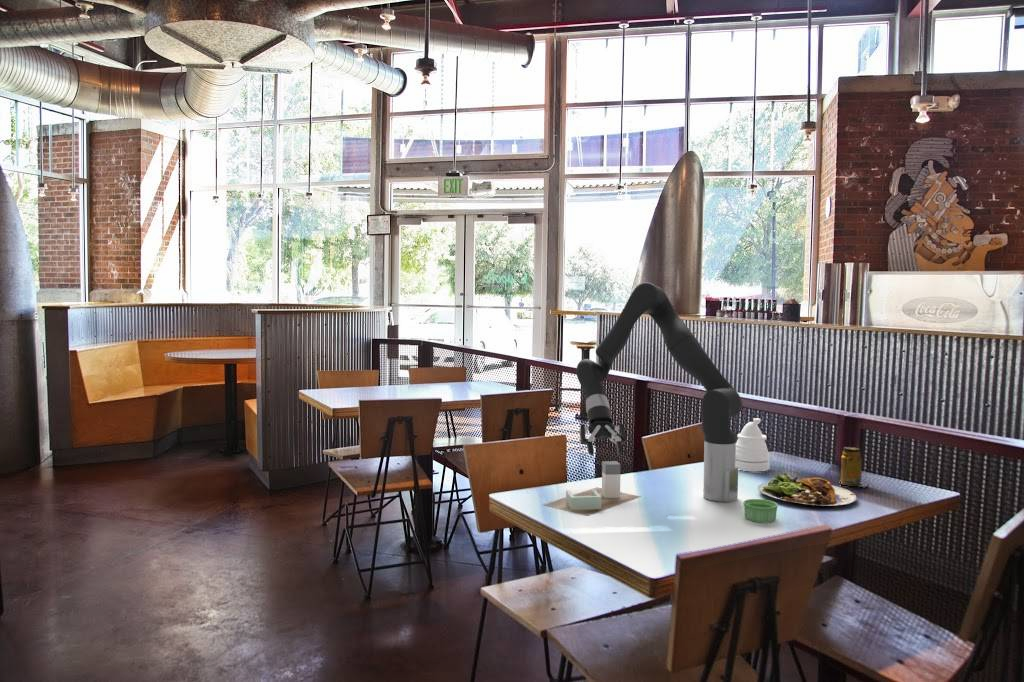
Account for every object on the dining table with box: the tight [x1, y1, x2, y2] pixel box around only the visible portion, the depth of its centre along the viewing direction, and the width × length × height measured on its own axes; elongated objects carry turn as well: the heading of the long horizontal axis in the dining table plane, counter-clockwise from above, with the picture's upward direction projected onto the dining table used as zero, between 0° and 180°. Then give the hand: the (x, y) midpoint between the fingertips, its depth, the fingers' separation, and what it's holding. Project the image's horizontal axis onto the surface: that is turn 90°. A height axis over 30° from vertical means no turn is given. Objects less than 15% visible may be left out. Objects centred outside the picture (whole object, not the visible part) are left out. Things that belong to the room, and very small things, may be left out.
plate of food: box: [757, 472, 857, 507], centre depth 226 cm, size 28×28×6 cm
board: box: [542, 486, 642, 517], centre depth 217 cm, size 16×27×1 cm, turn 138°
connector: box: [601, 460, 622, 498], centre depth 222 cm, size 4×4×10 cm
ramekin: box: [743, 498, 779, 524], centre depth 204 cm, size 9×9×4 cm
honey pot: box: [736, 417, 771, 471], centre depth 265 cm, size 13×13×18 cm
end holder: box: [565, 489, 601, 510], centre depth 212 cm, size 8×8×4 cm
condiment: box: [840, 446, 866, 489], centre depth 242 cm, size 7×8×12 cm
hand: (606, 454), depth 229 cm, fingers open, 8 cm apart
